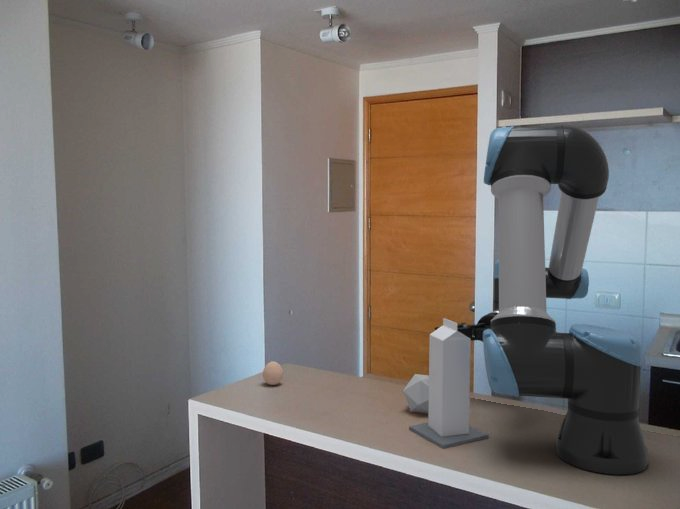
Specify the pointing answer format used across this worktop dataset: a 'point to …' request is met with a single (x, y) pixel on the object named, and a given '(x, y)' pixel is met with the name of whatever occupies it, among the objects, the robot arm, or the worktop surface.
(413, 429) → the coaster
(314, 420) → the worktop surface
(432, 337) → the milk
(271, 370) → the egg
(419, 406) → the die
